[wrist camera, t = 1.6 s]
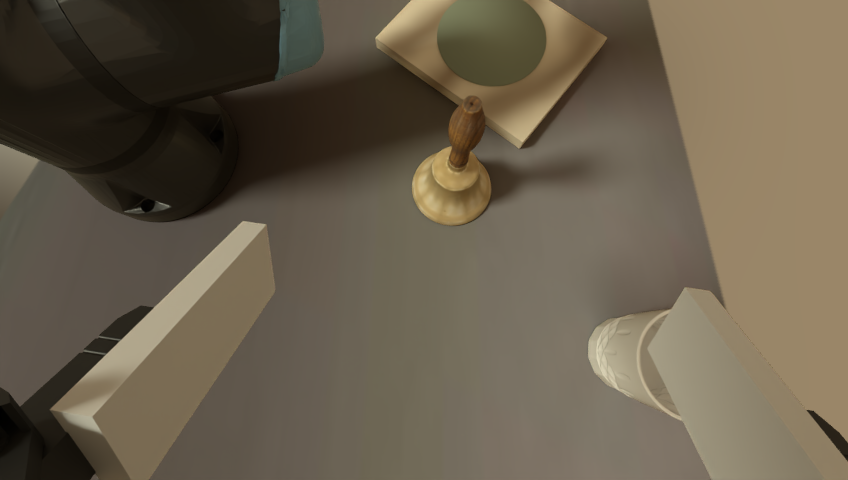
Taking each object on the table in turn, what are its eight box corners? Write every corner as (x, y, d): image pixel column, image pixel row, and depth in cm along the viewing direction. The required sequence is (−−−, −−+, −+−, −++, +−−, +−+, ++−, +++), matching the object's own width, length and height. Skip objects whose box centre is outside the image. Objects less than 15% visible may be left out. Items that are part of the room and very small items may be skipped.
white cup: (604, 295, 38) (666, 286, 28) (677, 341, 37) (768, 347, 27) (566, 365, 37) (617, 381, 27) (640, 414, 36) (722, 449, 26)
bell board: (377, 47, 44) (375, 36, 42) (462, -43, 47) (463, -56, 45) (519, 148, 41) (523, 141, 40) (601, 47, 44) (608, 36, 42)
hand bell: (485, 147, 41) (522, 41, 26) (496, 221, 40) (542, 155, 24) (408, 154, 41) (398, 51, 26) (416, 229, 39) (410, 168, 24)
